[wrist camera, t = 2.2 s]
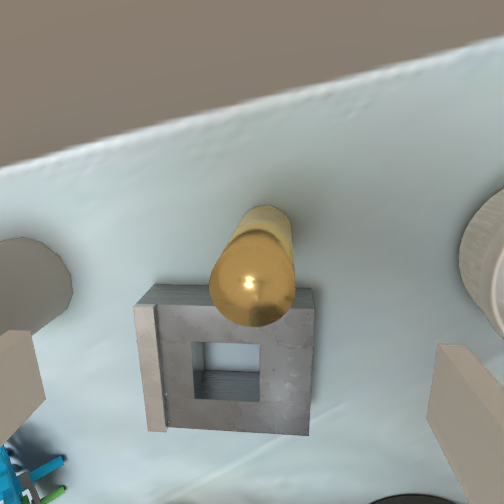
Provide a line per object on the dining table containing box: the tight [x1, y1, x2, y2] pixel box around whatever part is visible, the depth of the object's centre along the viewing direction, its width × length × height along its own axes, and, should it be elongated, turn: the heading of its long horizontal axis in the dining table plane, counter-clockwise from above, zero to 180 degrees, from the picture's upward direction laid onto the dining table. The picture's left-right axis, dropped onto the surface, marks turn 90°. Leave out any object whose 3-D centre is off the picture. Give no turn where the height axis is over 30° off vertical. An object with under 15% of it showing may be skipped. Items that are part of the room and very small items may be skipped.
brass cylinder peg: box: [209, 206, 296, 327], centre depth 23 cm, size 4×4×12 cm
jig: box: [133, 284, 315, 436], centre depth 30 cm, size 14×12×5 cm
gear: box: [0, 444, 65, 504], centre depth 37 cm, size 11×6×10 cm
